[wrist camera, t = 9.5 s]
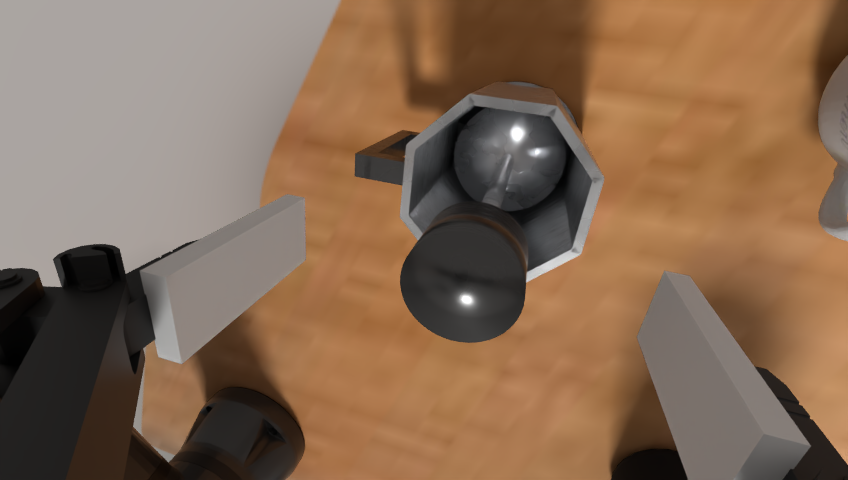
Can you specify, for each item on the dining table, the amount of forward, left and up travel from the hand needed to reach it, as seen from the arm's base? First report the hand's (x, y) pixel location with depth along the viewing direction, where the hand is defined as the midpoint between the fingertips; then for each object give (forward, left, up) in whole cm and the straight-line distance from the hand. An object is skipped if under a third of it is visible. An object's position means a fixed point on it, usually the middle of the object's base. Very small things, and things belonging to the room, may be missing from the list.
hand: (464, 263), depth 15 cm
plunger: (0, 0, -18) cm, 18 cm away
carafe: (-1, 0, -20) cm, 20 cm away
